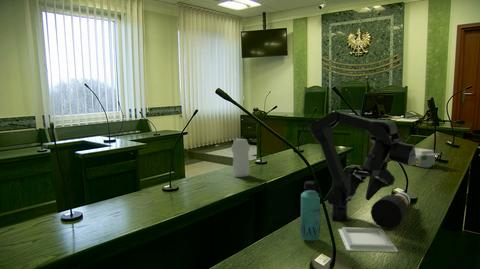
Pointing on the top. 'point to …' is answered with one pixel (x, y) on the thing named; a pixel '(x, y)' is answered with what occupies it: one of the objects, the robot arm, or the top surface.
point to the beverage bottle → (310, 212)
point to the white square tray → (366, 239)
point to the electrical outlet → (424, 157)
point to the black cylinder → (390, 210)
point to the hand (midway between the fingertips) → (358, 197)
